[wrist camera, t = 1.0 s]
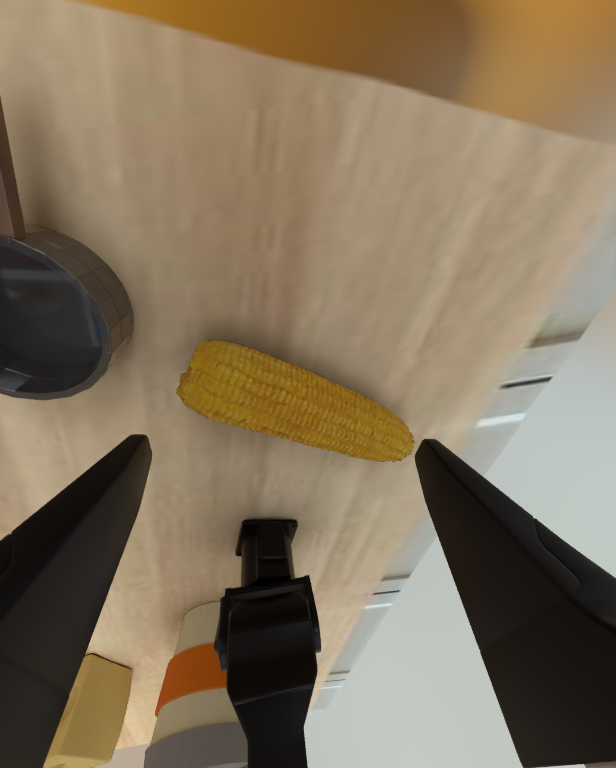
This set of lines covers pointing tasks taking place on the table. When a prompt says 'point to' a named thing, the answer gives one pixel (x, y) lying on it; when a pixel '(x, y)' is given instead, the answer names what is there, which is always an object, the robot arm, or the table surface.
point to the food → (289, 403)
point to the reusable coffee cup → (196, 704)
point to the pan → (57, 316)
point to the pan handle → (8, 189)
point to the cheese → (91, 716)
